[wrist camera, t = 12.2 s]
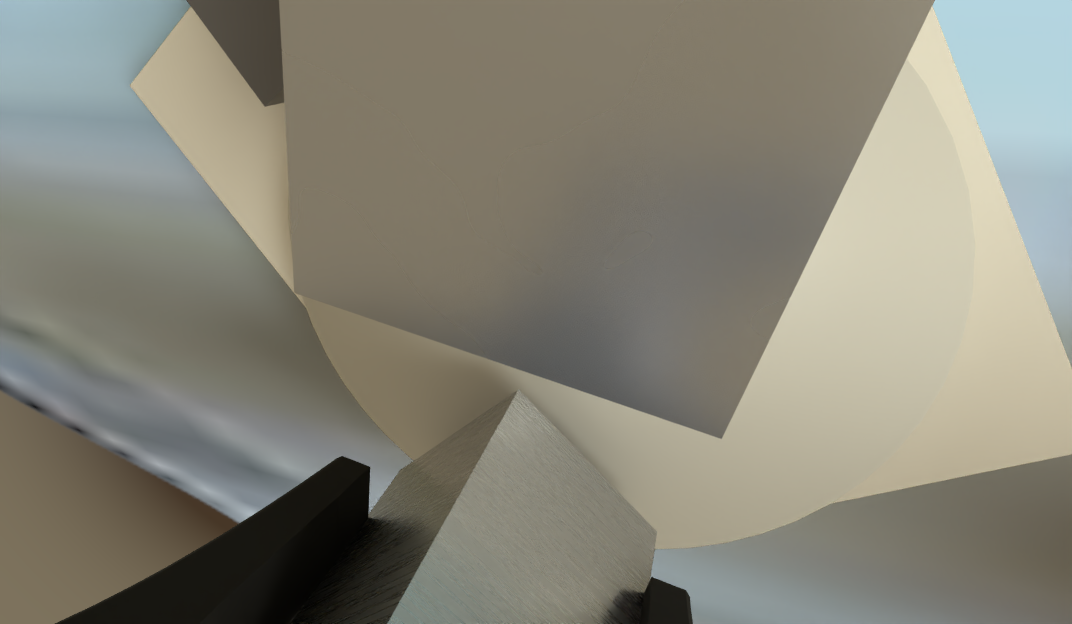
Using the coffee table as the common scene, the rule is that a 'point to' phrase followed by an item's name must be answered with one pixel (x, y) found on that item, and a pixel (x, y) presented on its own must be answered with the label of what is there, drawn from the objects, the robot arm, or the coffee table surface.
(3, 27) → the coffee table surface
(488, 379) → the scale
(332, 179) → the block
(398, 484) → the block
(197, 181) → the coffee table surface
